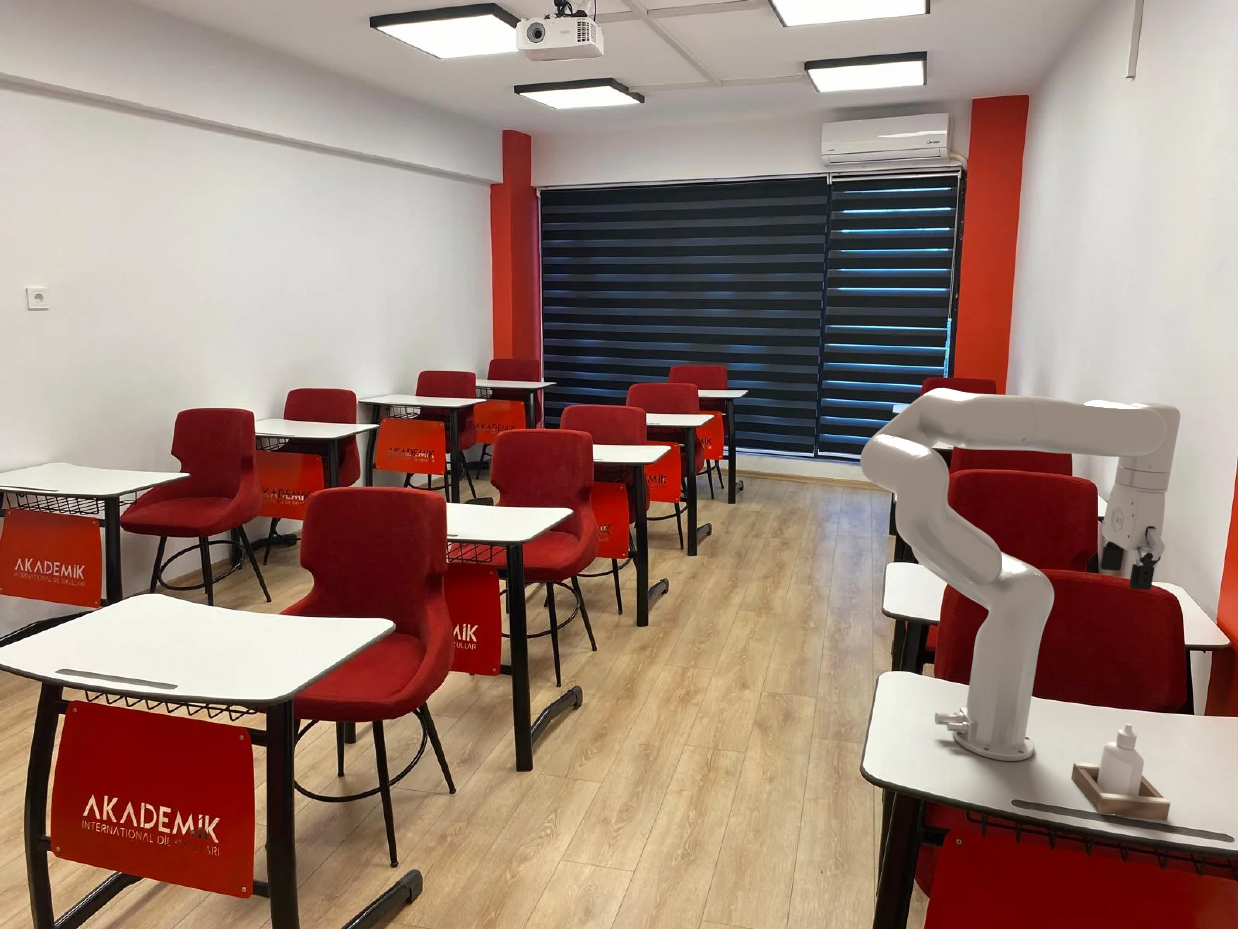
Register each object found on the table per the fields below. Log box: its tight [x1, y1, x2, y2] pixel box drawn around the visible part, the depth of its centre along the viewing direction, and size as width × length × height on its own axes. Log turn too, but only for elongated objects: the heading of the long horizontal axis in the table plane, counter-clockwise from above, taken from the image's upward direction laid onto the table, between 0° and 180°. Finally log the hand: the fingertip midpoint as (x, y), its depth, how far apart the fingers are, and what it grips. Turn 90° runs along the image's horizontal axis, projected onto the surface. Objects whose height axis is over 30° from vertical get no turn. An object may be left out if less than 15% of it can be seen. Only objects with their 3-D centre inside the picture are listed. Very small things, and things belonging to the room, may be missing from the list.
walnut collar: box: [1070, 761, 1171, 821], centre depth 131 cm, size 10×10×3 cm
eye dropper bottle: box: [1097, 722, 1145, 796], centre depth 130 cm, size 4×6×12 cm
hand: (1124, 578), depth 145 cm, fingers open, 9 cm apart
